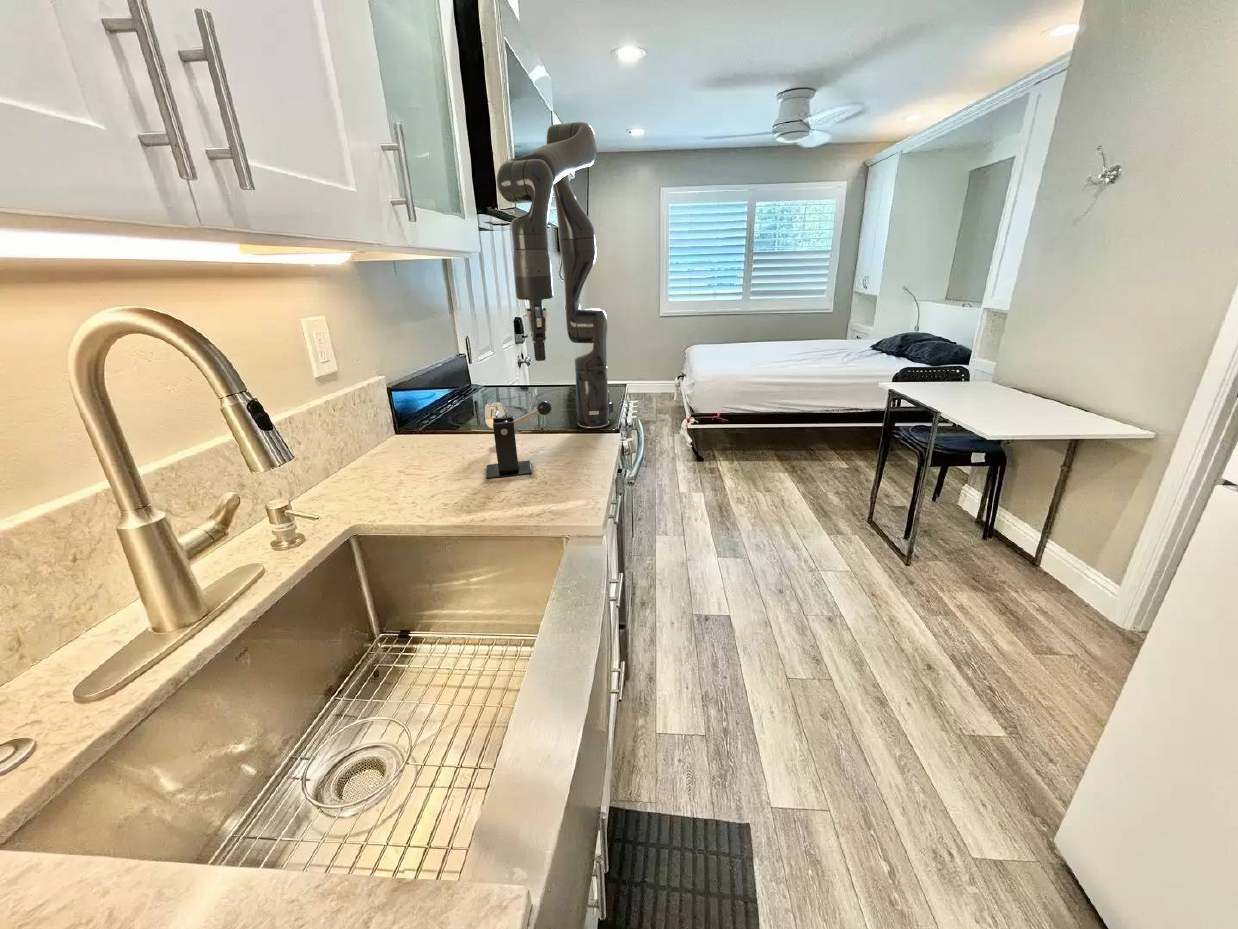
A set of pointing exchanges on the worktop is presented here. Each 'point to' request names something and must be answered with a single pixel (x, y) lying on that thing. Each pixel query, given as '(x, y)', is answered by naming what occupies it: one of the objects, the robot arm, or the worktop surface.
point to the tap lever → (534, 412)
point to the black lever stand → (506, 452)
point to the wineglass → (494, 412)
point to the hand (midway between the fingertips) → (540, 360)
